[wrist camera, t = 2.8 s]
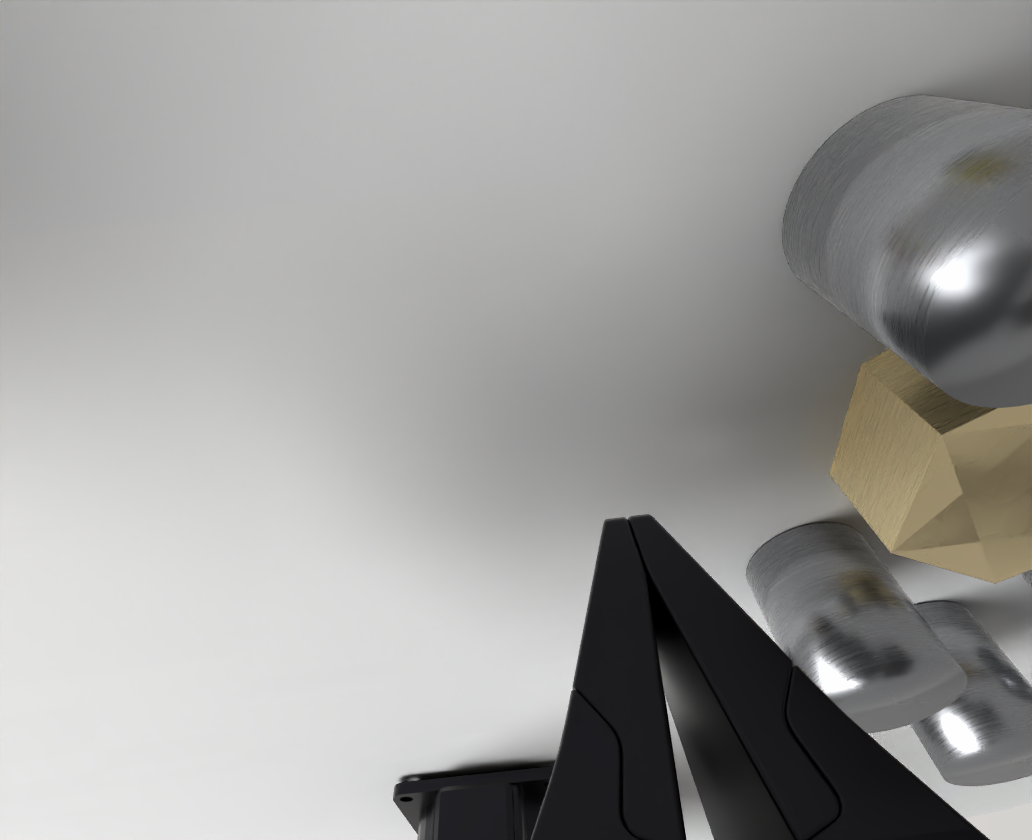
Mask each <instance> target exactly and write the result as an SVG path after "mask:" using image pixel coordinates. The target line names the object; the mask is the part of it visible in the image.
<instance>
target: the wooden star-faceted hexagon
mask: <svg viewBox="0 0 1032 840" xmlns="http://www.w3.org/2000/svg"><path fill="white" fill-rule="evenodd" d="M829 475H830V476H831V477H832V479H833V480H834V481H835V482H836V484H837V485H838V486H839V488H840V489H841V490H842V491H843V493H844V494H845V495H846V496H847V498H848V499H849V500H850V502H851V503H852V504H853V505H854V507H855V508H856V509H857V511H858V512H859V513H860V514H861V516H862V517H863V518H864V519H865V521H866V522H867V523H868V525H869V526H870V527H871V528H872V530H873V531H874V532H875V534H876V535H877V536H878V537H879V539H880V540H881V541H882V542H883V544H884V545H885V546H886V548H887V549H888V550H889V551H890V553H892V554H896V555H899V556H903V557H906V558H909V559H913V560H916V561H920V562H923V563H927V564H930V565H933V566H937V567H940V568H944V569H947V570H950V571H954V572H957V573H961V574H964V575H968V576H971V577H974V578H978V579H981V580H985V581H988V582H991V583H998V582H1000V581H1003V580H1006V579H1008V578H1011V577H1014V576H1016V575H1019V574H1021V573H1024V572H1027V571H1029V570H1032V404H1028V405H1023V406H1017V407H1005V408H988V407H980V406H973V405H970V404H966V403H963V402H960V401H958V400H956V399H954V398H952V397H950V396H949V395H947V394H946V393H945V392H944V391H942V390H941V389H940V388H938V387H937V386H936V385H935V384H933V383H932V382H931V381H930V380H928V379H927V378H926V377H924V376H923V375H922V374H921V373H919V372H918V371H917V370H915V369H914V368H913V367H912V366H910V365H909V364H908V363H906V362H905V361H904V360H903V359H901V358H900V357H899V356H897V355H896V354H895V353H894V352H892V351H891V350H890V349H889V350H887V351H885V352H883V353H881V354H879V355H878V356H876V357H874V358H872V359H870V360H868V361H867V362H865V363H863V364H861V367H860V370H859V374H858V377H857V380H856V384H855V387H854V391H853V394H852V398H851V401H850V405H849V408H848V412H847V415H846V418H845V422H844V425H843V429H842V432H841V436H840V439H839V443H838V446H837V449H836V453H835V456H834V460H833V463H832V467H831V470H830V474H829Z"/></svg>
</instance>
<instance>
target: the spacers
mask: <svg viewBox="0 0 1032 840" xmlns="http://www.w3.org/2000/svg"><path fill="white" fill-rule="evenodd" d="M782 239H783V248H784V253H785V256H786V259H787V261H788V264H789V265H790V267H791V269H792V271H793V272H794V273H795V274H796V276H797V277H798V278H799V279H800V280H801V281H803V282H804V283H805V284H806V285H808V286H809V287H810V288H811V289H813V290H814V291H815V292H817V293H818V294H819V295H820V296H822V297H823V298H824V299H826V300H827V301H828V302H829V303H831V304H832V305H833V306H835V307H836V308H837V309H838V310H840V311H841V312H842V313H844V314H845V315H846V316H847V317H849V318H850V319H851V320H853V321H854V322H855V323H856V324H858V325H859V326H860V327H862V328H863V329H864V330H865V331H867V332H868V333H869V334H870V335H872V336H873V337H874V338H876V339H877V340H878V341H879V342H881V343H882V344H883V345H885V346H886V347H887V348H888V349H890V350H891V351H892V352H894V353H895V354H896V355H897V356H899V357H900V358H901V359H903V360H904V361H905V362H906V363H908V364H909V365H910V366H912V367H913V368H914V369H915V370H917V371H918V372H919V373H921V374H922V375H923V376H924V377H926V378H927V379H928V380H930V381H931V382H932V383H933V384H935V385H936V386H937V387H938V388H940V389H941V390H942V391H944V392H945V393H946V394H947V395H949V396H950V397H952V398H954V399H956V400H958V401H960V402H963V403H966V404H970V405H973V406H980V407H988V408H1005V407H1017V406H1023V405H1028V404H1032V109H1026V108H1019V107H1011V106H1004V105H996V104H989V103H982V102H974V101H967V100H959V99H952V98H944V97H937V96H926V95H916V96H906V97H902V98H897V99H893V100H890V101H887V102H885V103H882V104H879V105H877V106H875V107H873V108H871V109H869V110H867V111H865V112H863V113H861V114H860V115H858V116H857V117H855V118H853V119H852V120H850V121H849V122H848V123H846V124H845V125H844V126H843V127H841V128H840V129H839V130H837V131H836V132H835V133H834V134H833V135H832V136H831V137H830V138H829V139H828V140H827V141H826V142H825V143H824V144H823V145H822V146H821V147H820V148H819V149H818V151H817V152H816V153H815V154H814V155H813V157H812V158H811V159H810V161H809V162H808V163H807V165H806V166H805V168H804V169H803V171H802V173H801V174H800V176H799V178H798V179H797V181H796V183H795V186H794V188H793V190H792V192H791V194H790V197H789V200H788V203H787V206H786V210H785V214H784V219H783V229H782ZM1023 576H1024V579H1025V580H1026V581H1027V582H1028V583H1029V584H1030V585H1031V586H1032V570H1029V571H1027V572H1024V573H1023ZM746 577H747V581H748V584H749V586H750V588H751V590H752V592H753V594H754V596H755V598H756V600H757V603H758V605H759V607H760V609H761V611H762V613H763V615H764V617H765V619H766V621H767V623H768V626H769V628H770V630H771V632H772V634H773V636H774V638H775V640H776V642H777V644H778V646H779V647H780V648H781V649H782V650H783V651H784V652H785V653H786V655H787V656H788V657H789V658H790V659H791V660H792V661H793V666H794V665H797V666H798V667H799V668H800V669H801V670H802V671H803V672H804V673H805V674H806V675H807V676H808V677H809V678H810V679H811V680H812V681H813V682H814V683H815V684H816V685H817V686H818V687H819V688H820V689H821V690H822V691H823V692H824V693H825V694H826V695H827V696H828V697H829V698H830V699H831V700H832V701H833V702H834V703H835V704H836V705H837V706H838V707H839V708H840V709H841V710H842V711H843V712H844V713H845V714H846V715H847V716H848V717H849V718H851V719H852V720H853V721H854V722H855V723H856V724H857V725H858V726H860V727H861V728H862V729H863V730H864V731H865V732H866V733H875V732H881V731H887V730H891V729H895V728H899V727H903V726H906V725H909V724H910V725H911V726H912V728H913V730H914V731H915V733H916V734H917V736H918V738H919V739H920V741H921V743H922V744H923V746H924V747H925V749H926V751H927V752H928V754H929V756H930V757H931V759H932V760H933V762H934V764H935V765H936V767H937V769H938V770H939V772H940V773H941V775H942V777H943V778H944V780H945V781H947V782H949V783H951V784H955V785H961V786H982V785H991V784H997V783H1003V782H1008V781H1012V780H1016V779H1020V778H1024V777H1027V776H1030V775H1032V686H1031V685H1030V684H1029V682H1028V681H1027V680H1026V679H1025V678H1024V676H1023V675H1022V674H1021V673H1020V672H1019V670H1018V669H1017V668H1016V667H1015V666H1014V664H1013V663H1012V662H1011V661H1010V660H1009V658H1008V657H1007V656H1006V655H1005V654H1004V652H1003V651H1002V650H1001V649H1000V648H999V647H998V645H997V644H996V643H995V642H994V641H993V639H992V638H991V637H990V636H989V635H988V633H987V632H986V631H985V630H984V629H983V627H982V626H981V625H980V624H979V623H978V621H977V620H976V619H975V618H974V617H973V615H972V614H971V613H970V612H969V611H968V609H966V608H965V607H964V606H962V605H960V604H957V603H953V602H929V603H923V604H919V605H914V604H913V603H912V601H911V600H910V599H909V597H908V596H907V595H906V593H905V592H904V591H903V589H902V588H901V587H900V585H899V584H898V583H897V581H896V580H895V579H894V577H893V576H892V575H891V573H890V572H889V571H888V569H887V568H886V567H885V565H884V564H883V563H882V561H881V560H880V559H879V557H878V556H877V555H876V553H875V552H874V551H873V549H872V548H871V547H870V545H869V544H868V543H867V541H866V540H865V539H864V537H863V536H862V535H861V533H860V532H858V531H857V530H856V529H854V528H852V527H850V526H847V525H844V524H839V523H816V524H810V525H805V526H801V527H798V528H795V529H792V530H789V531H787V532H785V533H783V534H781V535H779V536H777V537H775V538H773V539H772V540H770V541H769V542H767V543H766V544H765V545H763V546H762V547H761V548H760V549H759V550H758V551H757V552H756V553H755V554H754V556H753V557H752V559H751V560H750V562H749V564H748V567H747V571H746Z"/></svg>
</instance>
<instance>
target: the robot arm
mask: <svg viewBox="0 0 1032 840" xmlns="http://www.w3.org/2000/svg"><path fill="white" fill-rule="evenodd" d="M664 693H665V694H664ZM665 696H666V699H667V702H668V705H669V708H670V711H671V714H672V717H673V719H674V722H675V725H676V728H677V731H678V734H679V737H680V740H681V743H682V746H683V749H684V752H685V755H686V758H687V761H688V764H689V767H690V770H691V773H692V776H693V778H694V781H695V784H696V787H697V790H698V793H699V796H700V799H701V802H702V805H703V808H704V811H705V814H706V817H707V820H708V823H709V826H710V829H711V832H712V835H713V838H714V840H990V839H988V838H987V837H986V836H985V835H984V834H982V833H981V832H980V831H979V830H978V829H976V828H975V827H974V826H973V825H972V824H971V823H970V822H968V821H967V820H966V819H965V818H964V817H963V816H961V815H960V814H959V813H958V812H957V811H956V810H955V809H953V808H952V807H951V806H950V805H949V804H948V803H946V802H945V801H944V800H943V799H942V798H941V797H940V796H938V795H937V794H936V793H935V792H934V791H933V790H931V789H930V788H929V787H928V786H927V785H926V784H925V783H923V782H922V781H921V780H920V779H919V778H918V777H916V776H915V775H914V774H913V773H912V772H911V771H909V770H908V769H907V768H906V767H905V766H904V765H903V764H901V763H900V762H899V761H898V760H897V759H896V758H894V757H893V756H892V755H891V754H890V753H889V752H888V751H886V750H885V749H884V748H883V747H882V746H881V745H880V744H878V743H877V742H876V741H875V740H874V739H873V738H872V737H871V736H870V735H868V734H867V733H866V732H865V731H864V730H863V729H862V728H861V727H860V726H858V725H857V724H856V723H855V722H854V721H853V720H852V719H851V718H849V717H848V716H847V715H846V714H845V713H844V712H843V711H842V710H841V709H840V708H839V707H838V706H837V705H836V704H835V703H834V702H833V701H832V700H831V699H830V698H829V697H828V696H827V695H826V694H825V693H824V692H823V691H822V690H821V689H820V688H819V687H818V686H817V685H816V684H815V683H814V682H813V681H812V680H811V679H810V678H809V677H808V676H807V675H806V674H805V673H804V672H803V671H802V670H801V669H800V668H799V667H798V666H797V665H794V666H793V661H792V660H791V659H790V658H789V657H788V656H787V655H786V653H785V652H784V651H783V650H782V649H781V648H780V647H779V646H778V645H777V644H776V643H775V642H774V641H773V640H772V639H771V638H770V637H769V636H768V635H767V634H766V633H765V632H764V631H763V630H762V629H761V628H760V627H759V626H758V625H757V624H756V623H755V622H754V620H753V619H752V618H751V617H750V616H749V615H748V614H747V613H746V612H745V611H744V610H743V609H742V608H741V607H740V606H739V605H738V604H737V603H736V602H735V601H734V600H733V599H732V598H731V597H730V596H729V595H728V594H727V593H726V592H725V591H724V590H723V589H722V588H721V586H720V585H719V584H718V583H717V582H716V581H715V580H714V579H713V578H712V577H711V576H710V575H709V574H708V573H707V572H706V571H705V570H704V569H703V568H702V567H701V566H700V565H699V564H698V563H697V562H696V561H695V560H694V559H693V558H692V557H691V556H690V555H689V554H688V552H687V551H686V550H685V549H684V548H683V547H682V546H681V545H680V544H679V543H678V542H677V541H676V540H675V539H674V538H673V537H672V536H671V535H670V534H669V533H668V532H667V531H666V530H665V529H664V528H663V527H662V526H661V525H660V524H659V523H658V522H657V521H656V520H655V518H653V517H652V516H651V515H649V514H645V515H637V516H631V517H629V518H628V520H627V519H626V518H624V517H621V518H613V519H607V520H605V521H604V524H603V529H602V534H601V540H600V545H599V550H598V555H597V561H596V566H595V571H594V576H593V582H592V587H591V592H590V597H589V603H588V608H587V613H586V618H585V624H584V629H583V634H582V640H581V645H580V650H579V655H578V661H577V666H576V671H575V676H574V682H573V690H572V691H571V696H570V701H569V707H568V712H567V717H566V721H565V725H564V730H563V734H562V739H561V743H560V747H559V751H558V754H557V758H556V761H555V764H554V767H541V768H532V769H522V770H513V771H504V772H494V773H485V774H475V775H466V776H457V777H447V778H438V779H429V780H419V781H410V782H402V783H399V784H396V785H395V787H394V795H393V801H394V802H395V803H396V805H397V806H398V808H399V809H400V810H401V812H402V813H403V815H404V816H405V817H406V819H407V820H408V822H409V823H410V824H411V826H412V827H413V828H414V830H415V831H416V833H417V834H418V839H417V840H686V834H685V828H684V821H683V814H682V808H681V801H680V794H679V788H678V781H677V774H676V768H675V761H674V754H673V747H672V741H671V734H670V727H669V721H668V714H667V707H666V701H665Z"/></svg>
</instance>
